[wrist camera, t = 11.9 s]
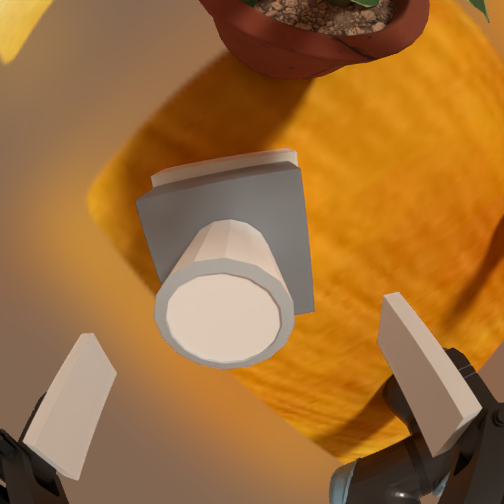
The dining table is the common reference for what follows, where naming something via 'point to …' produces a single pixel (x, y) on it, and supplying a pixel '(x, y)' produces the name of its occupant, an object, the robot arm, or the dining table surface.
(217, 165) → the tower base
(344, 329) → the dining table surface
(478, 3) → the potted plant
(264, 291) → the white cup
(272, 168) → the tower top
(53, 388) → the robot arm
